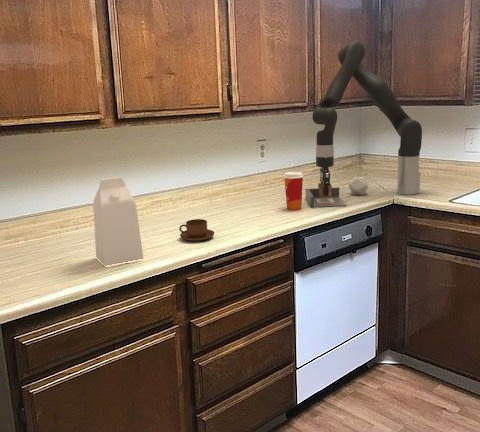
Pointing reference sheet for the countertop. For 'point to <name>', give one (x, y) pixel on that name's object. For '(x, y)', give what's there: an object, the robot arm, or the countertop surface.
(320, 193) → the walnut block
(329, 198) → the board
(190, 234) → the cup and saucer
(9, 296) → the countertop surface
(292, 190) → the coffee cup
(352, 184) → the die
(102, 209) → the milk
